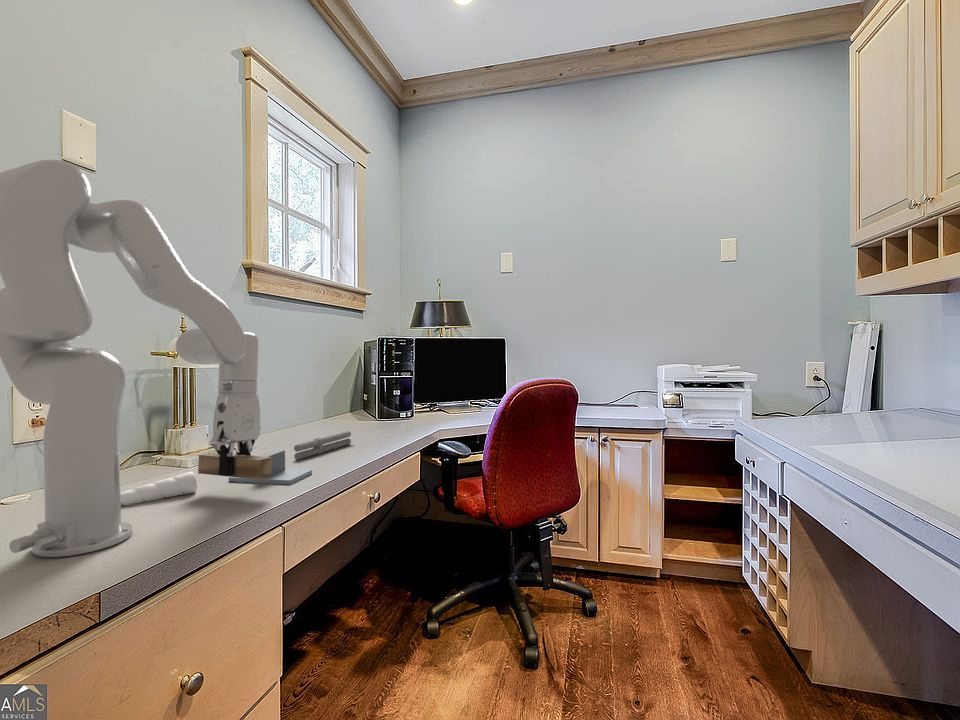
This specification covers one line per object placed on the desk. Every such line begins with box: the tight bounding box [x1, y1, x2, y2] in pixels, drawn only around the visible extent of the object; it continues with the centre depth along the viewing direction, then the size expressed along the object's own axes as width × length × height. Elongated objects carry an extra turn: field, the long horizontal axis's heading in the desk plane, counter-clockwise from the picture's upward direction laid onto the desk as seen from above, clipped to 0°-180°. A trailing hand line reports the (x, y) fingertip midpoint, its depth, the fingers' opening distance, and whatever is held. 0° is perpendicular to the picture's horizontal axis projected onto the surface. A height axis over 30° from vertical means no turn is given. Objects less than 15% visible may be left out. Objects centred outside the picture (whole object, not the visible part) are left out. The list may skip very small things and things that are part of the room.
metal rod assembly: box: [293, 430, 352, 461], centre depth 150 cm, size 26×3×5 cm, turn 161°
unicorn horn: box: [120, 471, 198, 506], centre depth 99 cm, size 5×24×5 cm, turn 131°
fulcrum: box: [228, 449, 313, 485], centre depth 119 cm, size 10×16×6 cm, turn 80°
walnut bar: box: [197, 451, 272, 479], centre depth 105 cm, size 4×16×4 cm, turn 72°
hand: (234, 471), depth 104 cm, fingers closed on walnut bar, 4 cm apart
